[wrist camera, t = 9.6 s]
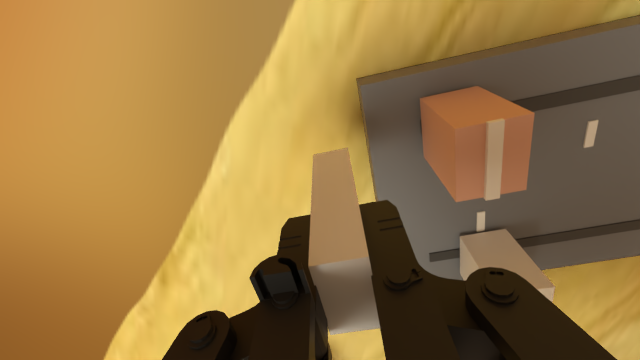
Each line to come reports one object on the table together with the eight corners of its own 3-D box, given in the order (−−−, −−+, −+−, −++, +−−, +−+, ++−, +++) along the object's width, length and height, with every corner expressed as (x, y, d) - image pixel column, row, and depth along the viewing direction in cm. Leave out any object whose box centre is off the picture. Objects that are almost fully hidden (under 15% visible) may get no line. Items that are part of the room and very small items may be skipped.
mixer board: (649, 232, 24) (676, 251, 22) (387, 273, 26) (392, 293, 24) (733, -6, 16) (785, -9, 14) (356, 78, 18) (360, 86, 17)
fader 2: (502, 267, 22) (549, 333, 18) (460, 273, 23) (494, 339, 18) (505, 228, 21) (557, 289, 16) (459, 235, 21) (498, 297, 16)
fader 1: (476, 147, 18) (528, 193, 13) (423, 157, 18) (457, 205, 14) (477, 84, 16) (537, 113, 12) (419, 97, 17) (456, 129, 12)
